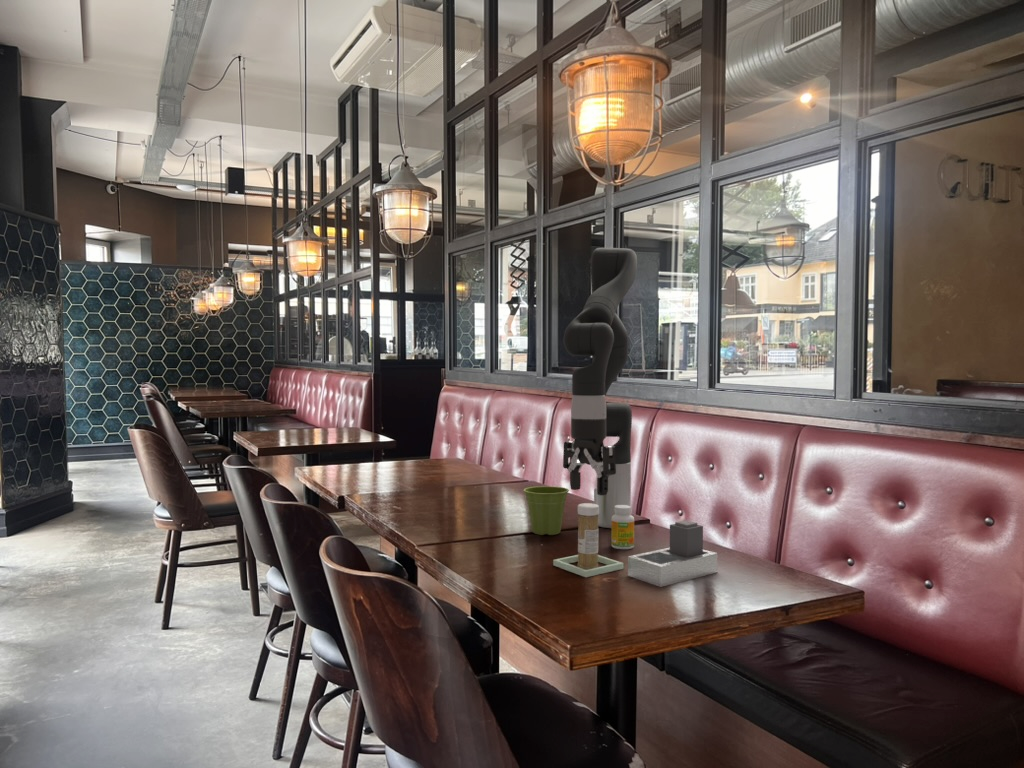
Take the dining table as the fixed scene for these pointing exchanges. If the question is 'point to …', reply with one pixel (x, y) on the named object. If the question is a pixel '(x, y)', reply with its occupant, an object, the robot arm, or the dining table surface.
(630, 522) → the supplement bottle
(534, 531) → the plant pot
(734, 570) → the dining table surface
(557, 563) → the tray frame
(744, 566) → the dining table surface
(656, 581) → the divided grey caddy
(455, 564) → the dining table surface
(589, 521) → the sprinkles bottle
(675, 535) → the grey stepped square plug
